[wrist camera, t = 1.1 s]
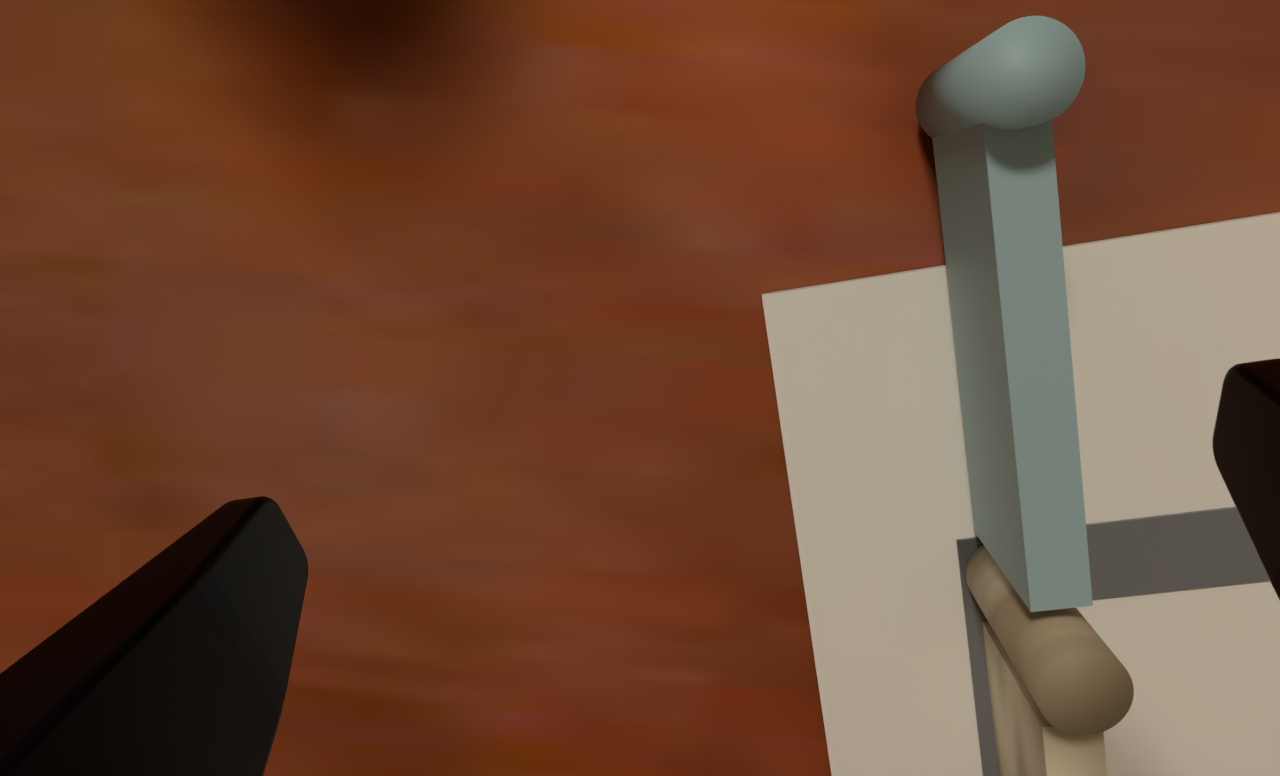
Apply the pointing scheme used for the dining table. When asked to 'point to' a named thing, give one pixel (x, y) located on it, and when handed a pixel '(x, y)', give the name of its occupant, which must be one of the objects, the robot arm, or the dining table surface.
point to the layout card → (1113, 500)
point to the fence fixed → (1045, 681)
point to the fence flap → (1013, 299)
